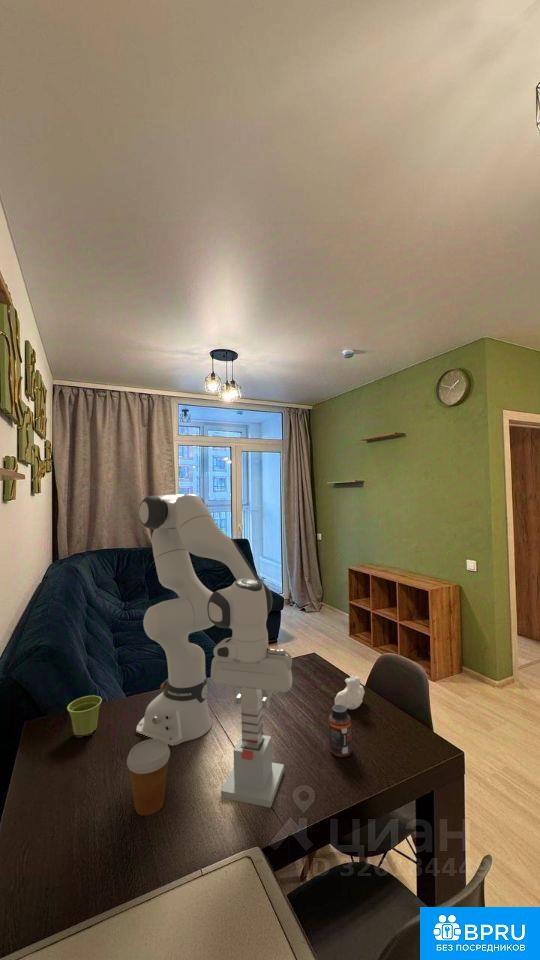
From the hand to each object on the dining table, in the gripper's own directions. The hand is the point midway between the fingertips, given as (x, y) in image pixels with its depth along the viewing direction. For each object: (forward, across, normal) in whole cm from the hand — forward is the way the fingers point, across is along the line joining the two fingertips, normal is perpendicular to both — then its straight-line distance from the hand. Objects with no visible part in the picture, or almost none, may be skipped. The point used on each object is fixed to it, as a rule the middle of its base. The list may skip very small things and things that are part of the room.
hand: (251, 704), depth 94 cm
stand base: (+19, 0, 0) cm, 19 cm away
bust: (+19, -20, -40) cm, 49 cm away
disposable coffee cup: (+19, +21, +12) cm, 31 cm away
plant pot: (+19, +56, -7) cm, 60 cm away
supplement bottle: (+19, -19, -17) cm, 32 cm away
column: (+11, 0, 0) cm, 11 cm away
